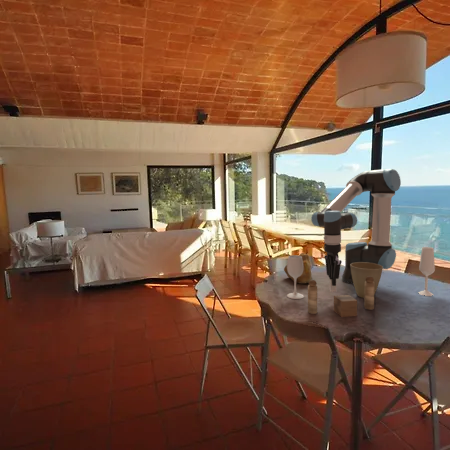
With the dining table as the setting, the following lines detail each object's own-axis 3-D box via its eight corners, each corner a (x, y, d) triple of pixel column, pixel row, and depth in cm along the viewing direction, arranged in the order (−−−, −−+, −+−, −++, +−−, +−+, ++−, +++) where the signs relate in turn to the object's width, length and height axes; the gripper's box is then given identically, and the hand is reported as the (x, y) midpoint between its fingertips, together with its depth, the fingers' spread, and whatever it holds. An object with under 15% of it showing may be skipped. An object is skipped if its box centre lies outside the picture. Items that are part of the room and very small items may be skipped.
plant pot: (360, 302, 144) (361, 269, 143) (344, 292, 159) (344, 263, 157) (388, 299, 147) (389, 268, 145) (369, 290, 161) (370, 261, 159)
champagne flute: (418, 291, 158) (420, 246, 155) (433, 293, 154) (436, 247, 151) (417, 294, 152) (419, 248, 150) (433, 297, 149) (435, 249, 146)
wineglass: (294, 300, 149) (294, 259, 147) (283, 295, 157) (283, 256, 154) (307, 297, 153) (307, 257, 151) (296, 292, 161) (296, 254, 158)
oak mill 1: (306, 310, 136) (306, 278, 134) (314, 310, 136) (315, 278, 135) (310, 314, 132) (310, 281, 130) (318, 313, 132) (318, 280, 131)
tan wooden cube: (333, 310, 135) (333, 295, 134) (348, 309, 136) (348, 294, 135) (341, 317, 128) (341, 301, 127) (356, 316, 129) (357, 300, 128)
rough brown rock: (286, 274, 199) (284, 252, 197) (312, 274, 193) (310, 251, 192) (282, 286, 177) (280, 262, 175) (311, 286, 171) (309, 260, 170)
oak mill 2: (362, 306, 139) (363, 275, 137) (370, 306, 139) (371, 274, 138) (367, 309, 135) (368, 277, 133) (375, 309, 135) (376, 277, 134)
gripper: (319, 241, 147) (319, 287, 150) (331, 246, 135) (331, 296, 137) (333, 240, 148) (333, 286, 151) (347, 245, 135) (347, 295, 138)
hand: (332, 291), depth 144 cm, fingers closed
